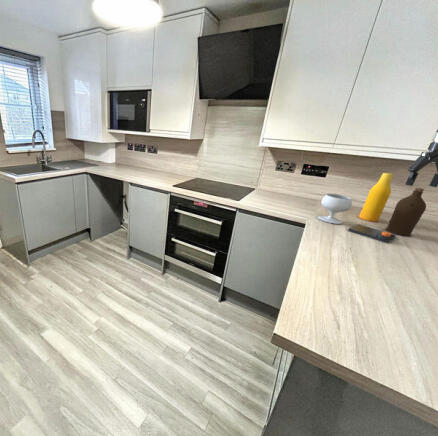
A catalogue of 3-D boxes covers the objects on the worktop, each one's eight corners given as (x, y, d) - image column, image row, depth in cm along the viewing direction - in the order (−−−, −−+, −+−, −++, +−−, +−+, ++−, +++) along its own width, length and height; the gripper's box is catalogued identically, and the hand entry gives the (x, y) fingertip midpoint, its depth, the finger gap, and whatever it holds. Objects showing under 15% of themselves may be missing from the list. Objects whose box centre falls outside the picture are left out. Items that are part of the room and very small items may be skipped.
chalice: (343, 220, 143) (352, 196, 138) (345, 227, 132) (355, 201, 127) (315, 214, 150) (323, 191, 145) (315, 220, 139) (324, 196, 134)
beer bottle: (361, 215, 154) (379, 171, 143) (379, 220, 147) (400, 174, 136) (356, 218, 149) (375, 172, 138) (375, 223, 142) (397, 175, 131)
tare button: (390, 236, 117) (392, 233, 116) (388, 237, 115) (390, 234, 114) (382, 233, 119) (383, 231, 119) (380, 235, 117) (381, 232, 117)
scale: (397, 238, 122) (400, 233, 121) (389, 244, 114) (392, 238, 113) (357, 226, 135) (359, 221, 134) (347, 230, 127) (349, 225, 126)
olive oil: (416, 238, 123) (441, 192, 114) (392, 234, 126) (414, 189, 117) (402, 230, 133) (424, 187, 123) (380, 227, 135) (400, 185, 126)
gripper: (428, 141, 107) (406, 186, 115) (476, 144, 109) (451, 188, 117) (410, 140, 114) (390, 182, 122) (455, 143, 116) (433, 185, 124)
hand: (420, 185), depth 120 cm, fingers open, 13 cm apart
